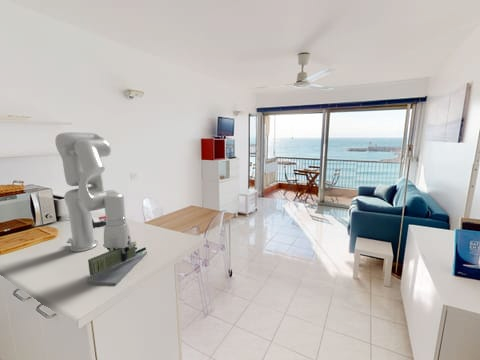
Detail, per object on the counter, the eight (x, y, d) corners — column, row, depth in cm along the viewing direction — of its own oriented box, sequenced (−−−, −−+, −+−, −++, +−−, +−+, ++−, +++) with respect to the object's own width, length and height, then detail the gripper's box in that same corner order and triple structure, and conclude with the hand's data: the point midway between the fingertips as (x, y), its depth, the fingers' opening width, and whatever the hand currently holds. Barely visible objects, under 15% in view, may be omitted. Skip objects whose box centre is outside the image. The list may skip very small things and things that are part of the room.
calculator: (119, 218, 161) (93, 222, 151) (119, 224, 161) (93, 228, 152) (115, 214, 169) (90, 217, 160) (115, 220, 170) (91, 223, 160)
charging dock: (87, 283, 94) (87, 281, 93) (124, 252, 119) (123, 250, 119) (116, 285, 93) (116, 282, 92) (146, 253, 118) (146, 251, 118)
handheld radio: (88, 274, 96) (143, 250, 116) (92, 276, 94) (147, 251, 114) (86, 258, 95) (142, 237, 115) (90, 261, 93) (146, 238, 113)
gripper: (92, 224, 99) (96, 264, 102) (130, 225, 98) (133, 265, 101) (103, 218, 106) (107, 255, 110) (138, 219, 105) (141, 257, 108)
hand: (119, 260), depth 105 cm, fingers closed on handheld radio, 3 cm apart
